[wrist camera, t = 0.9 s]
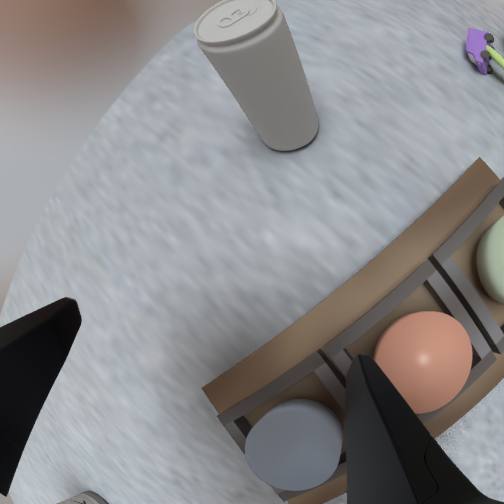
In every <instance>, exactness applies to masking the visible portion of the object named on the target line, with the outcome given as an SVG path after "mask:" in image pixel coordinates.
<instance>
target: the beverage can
mask: <svg viewBox="0 0 504 504" xmlns="http://www.w3.org/2000/svg"><path fill="white" fill-rule="evenodd" d="M193 31H194V36H195V37H196V38H197V43H198V45H199V47H200V48H201V50H202V51H203V53H204V54H205V55H206V57H207V58H208V60H209V61H210V62H211V64H212V65H213V67H214V68H215V70H216V71H217V72H218V74H219V75H220V77H221V78H222V80H223V81H224V83H225V84H226V86H227V87H228V88H229V90H230V91H231V93H232V94H233V96H234V97H235V99H236V100H237V102H238V103H239V105H240V106H241V108H242V109H243V111H244V113H245V114H246V116H247V117H248V119H249V120H250V122H251V123H252V125H253V126H254V128H255V130H256V131H257V133H258V134H259V136H260V137H261V139H262V141H263V142H264V143H265V144H266V145H267V146H269V147H270V148H272V149H275V150H281V151H287V150H294V149H298V148H301V147H303V146H305V145H307V144H308V143H309V142H310V141H311V140H312V139H313V138H314V137H315V135H316V133H317V130H318V126H319V123H318V116H317V113H316V109H315V106H314V103H313V99H312V96H311V93H310V89H309V86H308V83H307V80H306V77H305V73H304V70H303V67H302V64H301V61H300V58H299V55H298V52H297V50H296V47H295V44H294V41H293V38H292V36H291V33H290V30H289V27H288V25H287V22H286V19H285V17H284V14H283V12H282V11H281V9H280V8H279V6H277V4H276V2H275V1H274V0H223V1H221V2H219V3H218V4H216V5H214V6H212V7H211V8H210V9H208V10H207V11H205V12H204V13H203V14H202V15H201V16H200V17H199V19H198V20H197V22H196V23H195V26H194V29H193Z"/></svg>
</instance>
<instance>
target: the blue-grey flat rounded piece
mask: <svg viewBox="0 0 504 504" xmlns="http://www.w3.org/2000/svg"><path fill="white" fill-rule="evenodd" d="M342 442H343V429H342V425H341V423H340V421H339V419H338V417H337V416H336V415H335V413H334V412H333V411H332V410H331V409H329V408H328V407H327V406H325V405H323V404H321V403H319V402H316V401H313V400H309V399H291V400H287V401H284V402H281V403H279V404H278V405H276V406H274V407H273V408H272V409H271V410H270V411H268V412H267V413H266V414H265V416H264V417H263V418H262V419H261V420H260V421H258V422H257V423H256V424H255V425H254V427H253V428H252V429H251V431H250V432H249V434H248V436H247V438H246V442H245V455H246V459H247V462H248V464H249V466H250V468H251V469H252V471H253V472H254V473H255V474H256V475H257V476H258V477H259V478H260V479H261V480H263V481H264V482H266V483H267V484H269V485H271V486H274V487H276V488H279V489H283V490H291V491H300V490H306V489H310V488H313V487H316V486H318V485H320V484H322V483H323V482H325V481H326V480H327V479H328V478H329V477H330V476H331V475H332V474H333V473H334V471H335V470H336V468H337V466H338V463H339V459H340V454H341V448H342Z"/></svg>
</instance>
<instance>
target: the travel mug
mask: <svg viewBox="0 0 504 504" xmlns="http://www.w3.org/2000/svg"><path fill="white" fill-rule="evenodd" d="M57 504H107V503H106V501H104V500H103V499H102V498H101V497H99V496H98V495H96V494H95V493H92V492H88V491H87V492H84V493H81V494H79V495H78V496H74V497H72V498H69V499H67V500H65V501H62V502H59V503H57Z"/></svg>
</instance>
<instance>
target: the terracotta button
mask: <svg viewBox="0 0 504 504" xmlns="http://www.w3.org/2000/svg"><path fill="white" fill-rule="evenodd" d="M373 359H374V360H375V362H376V363H377V364H378V366H379V367H380V368H381V369H382V371H383V372H384V373H385V374H386V376H387V377H388V378H389V380H390V381H391V382H392V384H393V385H394V386H395V387H396V389H397V390H398V391H399V393H400V394H401V395H402V397H403V398H404V399H405V400H406V402H407V403H408V404H409V406H410V407H411V408H412V410H413V411H414V412H415V414H422V413H428V412H431V411H434V410H437V409H439V408H441V407H443V406H444V405H446V404H447V403H449V402H450V401H451V400H452V399H453V398H454V397H455V396H456V395H457V394H458V393H459V392H460V390H461V389H462V387H463V386H464V384H465V382H466V380H467V378H468V376H469V373H470V370H471V365H472V346H471V342H470V338H469V336H468V334H467V332H466V330H465V329H464V327H463V326H462V325H461V324H460V323H459V322H458V321H457V320H456V319H454V318H453V317H451V316H449V315H447V314H444V313H441V312H435V311H417V312H411V313H407V314H405V315H402V316H401V317H399V318H397V319H396V320H394V321H393V322H392V323H391V324H389V325H388V326H387V328H386V329H385V330H384V331H383V333H382V334H381V336H380V338H379V340H378V342H377V344H376V347H375V351H374V358H373Z"/></svg>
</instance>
